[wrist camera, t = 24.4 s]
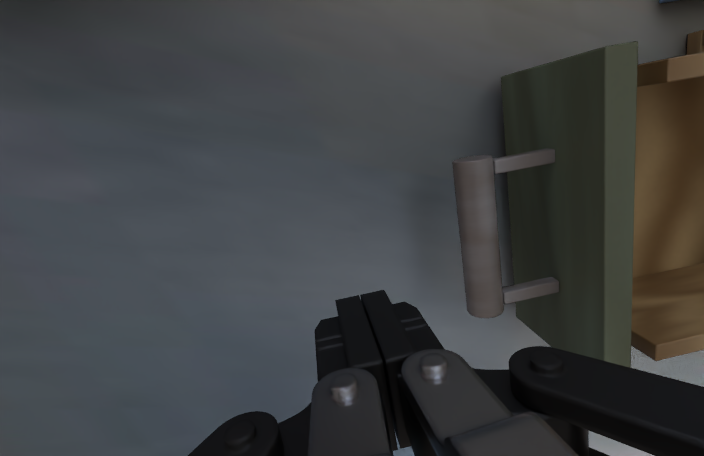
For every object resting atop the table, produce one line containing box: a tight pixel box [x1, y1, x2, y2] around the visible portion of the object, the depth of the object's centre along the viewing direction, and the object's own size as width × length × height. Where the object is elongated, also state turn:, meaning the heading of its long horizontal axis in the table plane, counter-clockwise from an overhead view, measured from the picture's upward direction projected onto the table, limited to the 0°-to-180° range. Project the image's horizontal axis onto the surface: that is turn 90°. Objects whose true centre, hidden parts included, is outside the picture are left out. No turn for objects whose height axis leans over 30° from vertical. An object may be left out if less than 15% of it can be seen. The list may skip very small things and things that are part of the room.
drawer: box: [452, 41, 704, 368], centre depth 18 cm, size 19×13×7 cm
